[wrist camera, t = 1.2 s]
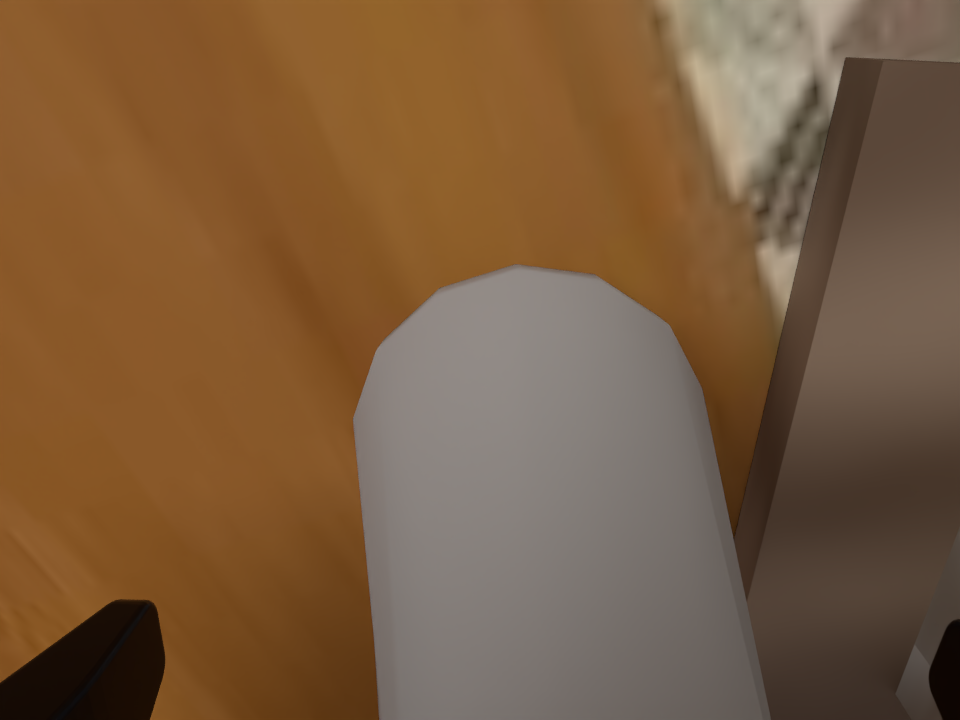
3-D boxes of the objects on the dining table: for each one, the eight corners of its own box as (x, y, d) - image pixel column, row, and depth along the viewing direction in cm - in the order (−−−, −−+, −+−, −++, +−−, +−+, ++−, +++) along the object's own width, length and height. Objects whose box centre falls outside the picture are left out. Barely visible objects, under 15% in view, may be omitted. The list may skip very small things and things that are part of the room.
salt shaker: (663, 486, 16) (1268, 1914, 4) (395, 508, 16) (179, 1960, 4) (668, 214, 13) (2363, 1828, 1) (351, 243, 13) (-541, 1944, 2)
